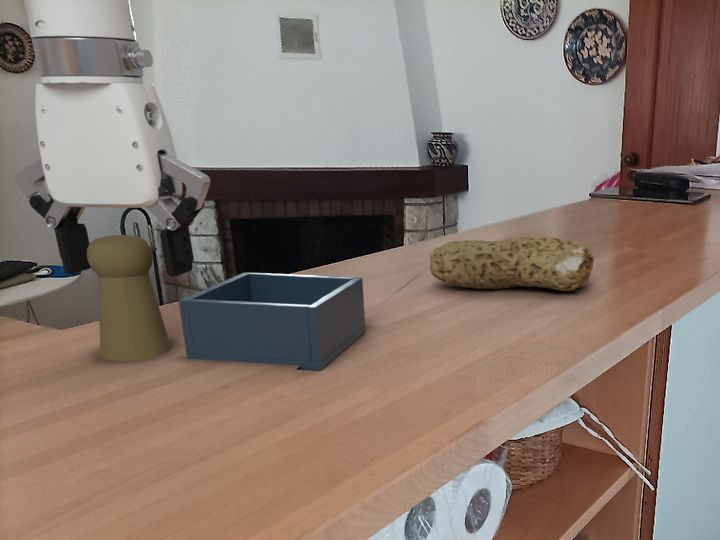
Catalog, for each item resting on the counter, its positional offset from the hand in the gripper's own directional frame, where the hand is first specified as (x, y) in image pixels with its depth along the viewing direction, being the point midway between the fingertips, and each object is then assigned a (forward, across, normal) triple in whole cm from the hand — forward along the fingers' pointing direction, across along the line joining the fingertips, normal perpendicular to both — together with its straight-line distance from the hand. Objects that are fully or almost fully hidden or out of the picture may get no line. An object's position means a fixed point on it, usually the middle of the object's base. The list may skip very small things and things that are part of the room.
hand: (129, 271), depth 70 cm
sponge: (+9, -29, -35) cm, 46 cm away
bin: (+8, -11, -5) cm, 15 cm away
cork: (+8, +1, 0) cm, 8 cm away
